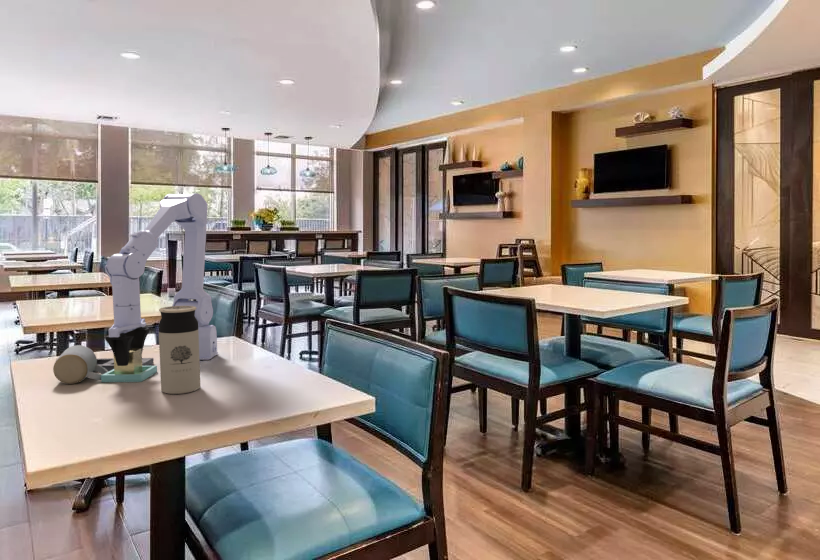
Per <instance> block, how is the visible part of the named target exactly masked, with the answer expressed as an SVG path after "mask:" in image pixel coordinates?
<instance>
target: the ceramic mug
mask: <svg viewBox="0 0 820 560" xmlns="http://www.w3.org/2000/svg"><path fill="white" fill-rule="evenodd" d="M52 368H53V370H52V371H53V374H54V377H55V378H56V379H57V380H58V381H59V382H60V383H63V384H65V385H72V384H73V385H74V384H78V383H80V382H82V381H84V380H85V379H87V378H88V379H91V380H95V381H101V375H103V374H105V373H107V372H108V370H106V369H105V368H103V367H101V366H99V365H97V356H96V353H95V352H94V351H93V350H92V349H91V348H90V347H87V346H85V345H80V344H77V345H72V346H69V347H68V348H66V349H65V350H63V352H62V353H61V354H60V355H59V356H58V357H57V359H56V360H55V362H54V364H53V367H52ZM93 371H96V372H93Z"/></svg>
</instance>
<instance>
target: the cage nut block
mask: <svg viewBox="0 0 820 560" xmlns="http://www.w3.org/2000/svg"><path fill="white" fill-rule="evenodd" d="M113 358H114V374H140V373H142V372H143V371H142V358H143V351H142V349H141V348H130V351H129V362H128V365H127V366H118V365H117V363H116V360H115V356H114V355H113Z"/></svg>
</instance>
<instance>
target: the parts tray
mask: <svg viewBox="0 0 820 560" xmlns="http://www.w3.org/2000/svg"><path fill="white" fill-rule="evenodd" d="M142 371H143V372H142V373H140V374H114V369H113V370H111V371H109V372H107V373H105V374H103V375H101V380H100V382H101V383H142V382H144V381H146V379H149V377H152V376H154V375H155V374H157V373H158V365H150V366H142Z"/></svg>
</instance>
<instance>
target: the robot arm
mask: <svg viewBox="0 0 820 560" xmlns="http://www.w3.org/2000/svg"><path fill="white" fill-rule="evenodd" d="M208 206H209V205H208V203H207V201H206V200H205V198H204V197H203V195H202V194H200V193H196V192H195V193H183V194H181V193H175V194H174V193H168V194H166V195H165V196H163V199H161V201H159V209H158V210H157V212H156V213H155V215H154V216H153V218H152V219H151V220H150V222H149V223H148V225H147V226H146V228H145V229H144V230H138V231H136V232H135V231H134V232H133V233H132V234H131V236H132V237H131V238H130V239H129V240H128V242H127V243H126V244H125V245H124V246H122V247H121V249H120V250H119V253H114V254H112V255H111V256H110V257H108V259H107V261H106V265H104V271H105V273H106V275H107V276H108V277H109V283H110V285H111V289H112V291H111V292H112V307H113V308H112V309H113V310H112V311H113V325H111V327H110V328H108V335H106V336H105V342H107V344H108V346H109V347H110V349H111V352H112V354H113V357H114V356H115V360H116V363H117V365H118V366H127V365H128V362H129V351H130V348H141V349H142V352H143V351H144V345H145V341H146V339H147V336H148V334H149V332H150V328H149V327H146V326H147V322H146V318H142V312H141V293H140V292H141V291H140V289H141V288H140V277H141V276H142V275H143V274H144V273H145V269H146V263H147V260H148V259H149V257H151V255H152V253H154V252H155V250H156V249H157V248H158V246H159V242H158V238H160V236H161V235H162V234H163V233H164V232H165V231H167V229H168V228H170V226H171V225H172V223H173V222H174V223H175V224H177V225H178V226H181V228H182V229H183V231H184V244H183V246H184V247H183V263H182V281H181V282H182V283H181V289H179V291H178V292H176V294H174V296H173V303H172V305H171V306H195V307H196V310H195V315H194V316H195V318H196V319H197V321H198V333H199V360H200V361H202V360H203V361H205V360H207V361H209V360H212V358H214V357H215V356H216V355H218V354H219V352H218V337H217V336H218V334H217V327H216V326H215V325H214V324H210V322H211V320H212V318H213V316H214V308H213V304H212V296H211V295H210V294H209V293H208V292H206V291H205V290H204V279H205V278H204V276H205V262H206V244H207V242H206V241H207V224H208V223H207V222H208V221H207V220H208Z"/></svg>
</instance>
